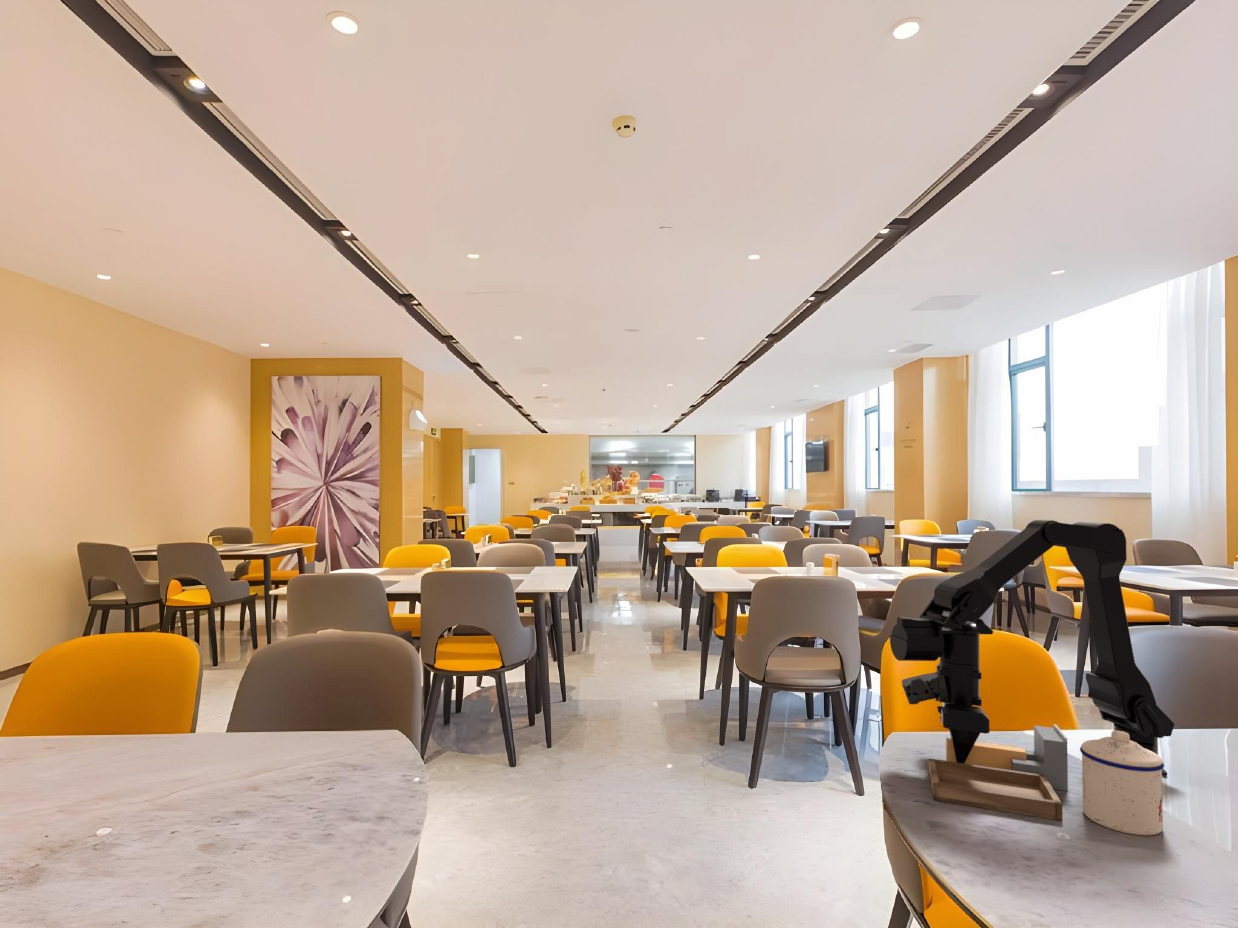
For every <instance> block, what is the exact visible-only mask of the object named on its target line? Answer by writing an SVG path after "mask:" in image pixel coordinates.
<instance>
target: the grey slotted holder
mask: <svg viewBox="0 0 1238 928" xmlns="http://www.w3.org/2000/svg"><path fill="white" fill-rule="evenodd" d="M1033 743H1034V744H1033V746H1034V747H1033V749H1034V750H1028V749H1024V750H1025V751H1026V760H1022V759H1015V758H1011V770H1013V771H1020V772H1027V773H1034V774H1041V775H1045V777H1046V778H1047V780H1048V782H1049V783H1050V785H1051V786H1052V788H1053V790H1059V791H1066V792H1068V791H1069V786H1068V785H1069V784H1068V783H1069V778H1068V775H1069V773H1068V772H1069V771H1068V767H1069V766H1068V737H1067V736H1066V735H1065V733H1064V732H1063V731H1062V730H1061V729H1060V728H1059V726H1058V724H1055V723H1053V727H1050V726H1043V725H1042V726H1040V725H1033Z"/></svg>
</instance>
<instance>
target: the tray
mask: <svg viewBox="0 0 1238 928" xmlns="http://www.w3.org/2000/svg"><path fill="white" fill-rule="evenodd" d="M928 776H929V781H930V788H931V794H932V800H933V801H937V802H944V803H949V804H957V805H962V806H969V807H973V808H980V809H987V810H992V811H998V812H1005V813H1010V814H1011V813H1012V814H1017V815H1023V816H1029V817H1036V818H1042V819H1047V820H1048V819H1049V820H1052V821H1053V820H1055V821H1060V822H1063V803H1062V801H1061V800H1060V798H1059V796H1058V795H1057V793H1056V791H1055V789H1053V788H1052V786H1051V785H1050V783H1049V782H1048V780H1047V778H1046V777H1045V775H1041V774H1034V773H1027V772H1020V771H1013V770H1006V769H999V768H992V767H985V766H978V765H971V764H964V763H957V762H950V761H946V760H944V759H943V760H941V759H935V758H928Z"/></svg>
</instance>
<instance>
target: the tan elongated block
mask: <svg viewBox="0 0 1238 928" xmlns="http://www.w3.org/2000/svg"><path fill="white" fill-rule="evenodd" d="M1025 750H1026V749H1025V748H1023V747H1018V746H1017V747H1016V746H1010V745H1009V746H1008V745H1001V744H994V743H986V742H979V741H976V742H975V744H974V746H973V747H972V749H971V751H970V753H969V755H968V757H967V759H966V761H965V763H964V764H971V765H978V766H985V767H992V768H999V769H1006V770H1011V758H1015V759H1022V760H1026V751H1025ZM945 761H950V762H957V761H956V756H955V751H954V746H953V741H952V739H951V737H946V738H945Z"/></svg>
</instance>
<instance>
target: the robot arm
mask: <svg viewBox="0 0 1238 928" xmlns="http://www.w3.org/2000/svg"><path fill="white" fill-rule="evenodd" d="M1055 546H1056V547H1060V548H1065V550H1066V554H1067V556H1068V559H1069V561H1070V562H1071V564H1072V565H1073V566H1074V568H1075V569H1076V570H1077V572H1078V573H1079V574H1080V576H1081V577H1082V580H1083V585H1084V592H1085V597H1086V602H1087V603H1086V604H1087V608H1088V613H1089V619H1090V622H1091V623H1090V624H1091V628H1092V629H1091V630H1092V635H1093V641H1094V646H1095V651H1096V656H1097V664H1096V665H1097V666H1095V669H1094V671H1093V673H1092V672H1091V673H1090V672H1089V673H1088V672H1086V673H1085V681H1086V683H1087V687H1088V693H1087V697H1088V698H1090V699H1092V702H1093V704H1094V706H1095V707H1096V708H1098V711H1099V713H1100V716H1101V719H1102V720H1103V721H1107V722H1110V723H1112V724H1113V731H1114V730H1118V731H1123V732H1126V733H1128V734H1129V736H1130V740H1131V741H1134V742H1136V743H1137V744H1139V745H1140V746H1142V747H1143V748H1145V749H1148V750H1150V751H1152V752H1154V753H1156V754H1157V755H1158V756H1159V739H1163V738H1164V737H1171V736H1172V733H1173V731H1174V727H1175V723H1174V721H1172V719H1171V718H1169V717H1168V715H1167V714H1166V713H1165V712H1164V711H1163V710H1162V709H1161V708H1160V707H1159V706H1158V705H1157V700H1156V697H1155V695H1154V692H1153V689H1152V687H1151V683H1150V681H1149V680H1148V679H1147V677H1146V676H1145V675H1144V674H1143V673H1142V672H1141V671H1142V670H1141V669H1140V668H1139V667H1138V666H1137V664H1136V660H1135V656H1134V650H1133V644H1132V639H1131V635H1130V634H1131V633H1130V629H1129V624H1128V616H1127V614H1126V613H1127V612H1126V607H1125V600H1124V596H1123V591H1122V585H1121V580H1120V575H1121V573H1122V570H1123V568H1124V566H1125V564H1126V562H1127V537H1126V534H1125V532H1124V530H1123V529H1121V528H1120V527H1118V526H1116V525H1115V524H1113V523H1107V522H1106V523H1104V522H1084V521H1083V522H1081V521H1080V522H1078V521H1077V522H1073V523H1065V522H1064V523H1063V522H1059V521H1057V520H1051V519H1049V520H1048V519H1034V520H1032V521H1030V522H1029V523H1027V525H1026V526H1025V528H1024V529H1022V530H1021V531H1020V532H1019V533H1017V534H1016V535H1015V536H1014V537H1012V538H1011V539H1010V540H1009V541H1007V543H1005V544H1004V545H1002V546H1001V547H1000V548H999V549H997V550H996V551H995V552H994V553H992V554H991V555H989V556H988V558H986V559H985V560H983V561H982V562H981V563H979V564H978V565H977V566H975V567H974V568H971V569H969V570H967V571H964V572H961V573H960V572H959V573H958V574H955V575H953V576H951V577H950V578H947V579H945V580H944V581H942V582H940V583H939V584H937V586H936V587H935V588H934V590H933V593H934V594H933V598H931V600H930V602H929V603H928V604H927V606H926V607H925V608H924V610H923V611H922V613H921V614H920V616H919V618H917V617H916V618H915V617H906V616H897V617H896V624H895V625H894V626H893V627H892V630H891V634H890V635H889V643H890V645H889V646H890V651H891V653H892V655H893V657H894V658H895V660H897V661H900V662H901V661H903V662H908V661H909V662H919V661H920V662H935V661H937V660H938V659H939V662H938V664H936V672H935V671H934V672H930V673H924V674H920V675H915V676H910V677H907V678H904V679H902V680H901V685H902V688H903V692H904V694H905V696H906V699H907V703H908V704H909V705H913V706H914V705H917V704H919V703H921V702H925V701H930V700H934V701H935V702H939V703H942V705H941V706H940V705H938V706H936V709H937V712H938V713H939V714H940V716H939V720H940V721H941V724H942V728H945V729H946V730H947V729H948V731H949V734H950V738H951V739H952V741H953V746H954V751H955V756H956V761H957V763H965V761H966V759H967V757H968V755H969V753H970V751H971V749H972V747H973V746H974V744H975V742H977V740H978V738H979V737H980V734H985V735H986V734H990V719H989V717H988V715H987V713H986V712H985V711H984V710H983V709H982V708H981V707H982V698H981V696H980V693H981V692H980V680H982V671H981V670H980V635H993V634H994V630H993V629H991V627H989V626H988V624H986V623H985V621H984V620H983V619H982V616H984V615H985V613H987V611H988V610H989V609H990V608H991V607H992V605H993V604H994V603H995V601H996V598H997V595H998V593H999V591H1000V590H1001V589H1002V588H1003V587H1004V586H1005V585H1006V584H1008V583H1009V582H1011V580H1013V579H1014V578H1015V577H1016V576H1018V575H1019V574H1020V573H1021V572H1022V571H1024V570H1025V569H1026V568H1028V567H1029V566H1030V565H1032V564H1033V563H1034V562H1035V561H1036V560H1038V559H1039V558H1040V557H1041V556H1042V555H1044V554H1045V553H1047V551H1049V550H1051V549H1052V548H1053V547H1055ZM1162 776H1166V777H1167V776H1168V771H1166V770H1165V769H1164V768H1163V769H1162Z"/></svg>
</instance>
